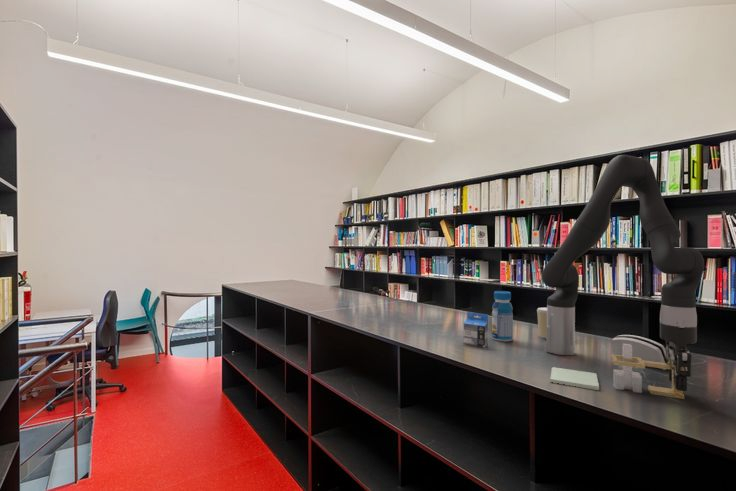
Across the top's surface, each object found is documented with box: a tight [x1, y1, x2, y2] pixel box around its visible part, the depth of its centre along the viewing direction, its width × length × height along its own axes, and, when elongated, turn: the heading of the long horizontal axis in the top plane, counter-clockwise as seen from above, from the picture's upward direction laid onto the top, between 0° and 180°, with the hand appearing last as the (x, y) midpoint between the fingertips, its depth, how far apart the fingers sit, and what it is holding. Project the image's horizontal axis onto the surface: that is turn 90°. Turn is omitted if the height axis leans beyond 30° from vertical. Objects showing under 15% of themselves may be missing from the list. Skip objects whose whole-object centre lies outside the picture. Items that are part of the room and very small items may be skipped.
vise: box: [612, 344, 643, 394], centre depth 106 cm, size 6×11×12 cm, turn 152°
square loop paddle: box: [610, 353, 685, 400], centre depth 101 cm, size 16×7×8 cm, turn 62°
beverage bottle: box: [491, 290, 514, 342], centre depth 156 cm, size 8×8×20 cm
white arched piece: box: [611, 334, 668, 371], centre depth 127 cm, size 17×5×10 cm, turn 25°
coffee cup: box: [536, 307, 547, 339], centre depth 161 cm, size 9×9×12 cm
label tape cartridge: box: [463, 311, 489, 348], centre depth 148 cm, size 9×4×12 cm, turn 53°
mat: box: [549, 366, 600, 391], centre depth 109 cm, size 12×12×1 cm
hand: (677, 385), depth 98 cm, fingers open, 6 cm apart
